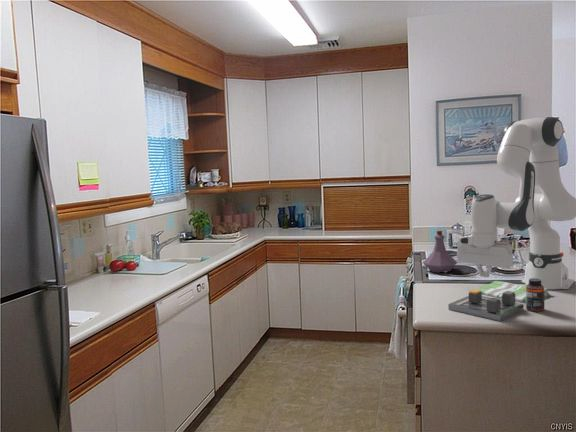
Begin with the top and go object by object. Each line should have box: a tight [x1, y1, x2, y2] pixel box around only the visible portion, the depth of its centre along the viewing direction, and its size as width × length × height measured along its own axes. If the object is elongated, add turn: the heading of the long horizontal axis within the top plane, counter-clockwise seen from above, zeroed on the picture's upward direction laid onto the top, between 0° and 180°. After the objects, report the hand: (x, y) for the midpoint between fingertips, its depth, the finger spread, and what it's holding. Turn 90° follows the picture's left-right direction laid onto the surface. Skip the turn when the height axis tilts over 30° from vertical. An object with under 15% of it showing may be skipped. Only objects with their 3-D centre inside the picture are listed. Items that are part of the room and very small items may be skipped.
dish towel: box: [475, 280, 549, 304], centre depth 196 cm, size 17×23×4 cm
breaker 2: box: [501, 291, 516, 305], centre depth 177 cm, size 4×3×4 cm
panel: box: [447, 295, 525, 322], centre depth 178 cm, size 17×20×2 cm
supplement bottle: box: [525, 278, 545, 313], centre depth 174 cm, size 6×6×11 cm
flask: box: [422, 230, 458, 273], centre depth 238 cm, size 16×16×20 cm
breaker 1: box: [487, 297, 501, 313], centre depth 170 cm, size 4×3×4 cm
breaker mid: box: [468, 288, 483, 303], centre depth 181 cm, size 4×3×4 cm
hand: (484, 276), depth 177 cm, fingers closed
